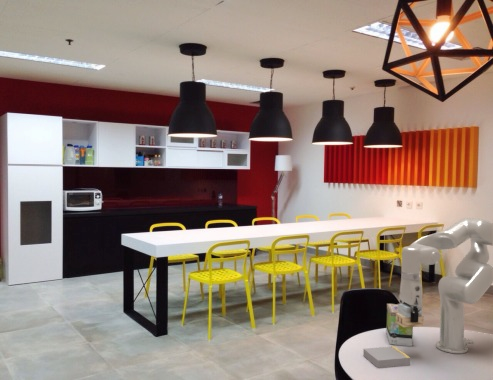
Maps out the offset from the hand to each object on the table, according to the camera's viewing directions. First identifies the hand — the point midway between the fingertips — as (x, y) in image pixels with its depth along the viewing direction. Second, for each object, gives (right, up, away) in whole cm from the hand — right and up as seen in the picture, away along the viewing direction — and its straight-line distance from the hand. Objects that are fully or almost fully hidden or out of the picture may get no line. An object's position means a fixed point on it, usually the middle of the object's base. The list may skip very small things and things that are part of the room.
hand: (409, 319), depth 183 cm
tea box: (+2, -15, +20) cm, 25 cm away
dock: (-11, -16, -4) cm, 20 cm away
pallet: (0, -2, 0) cm, 2 cm away
